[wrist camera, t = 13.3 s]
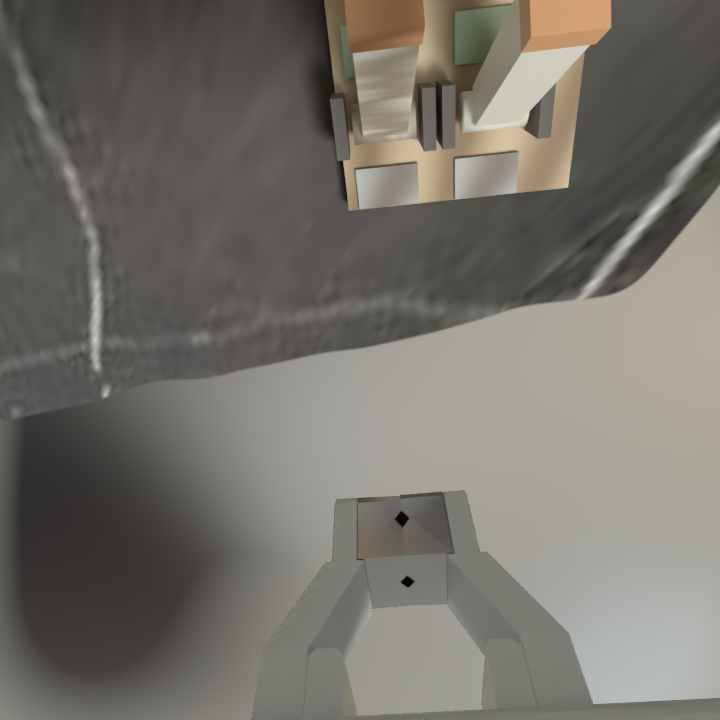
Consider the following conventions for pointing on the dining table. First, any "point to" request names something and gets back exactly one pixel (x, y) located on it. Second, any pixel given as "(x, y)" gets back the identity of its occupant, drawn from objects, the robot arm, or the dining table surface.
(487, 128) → the lever
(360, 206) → the console
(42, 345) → the dining table surface
